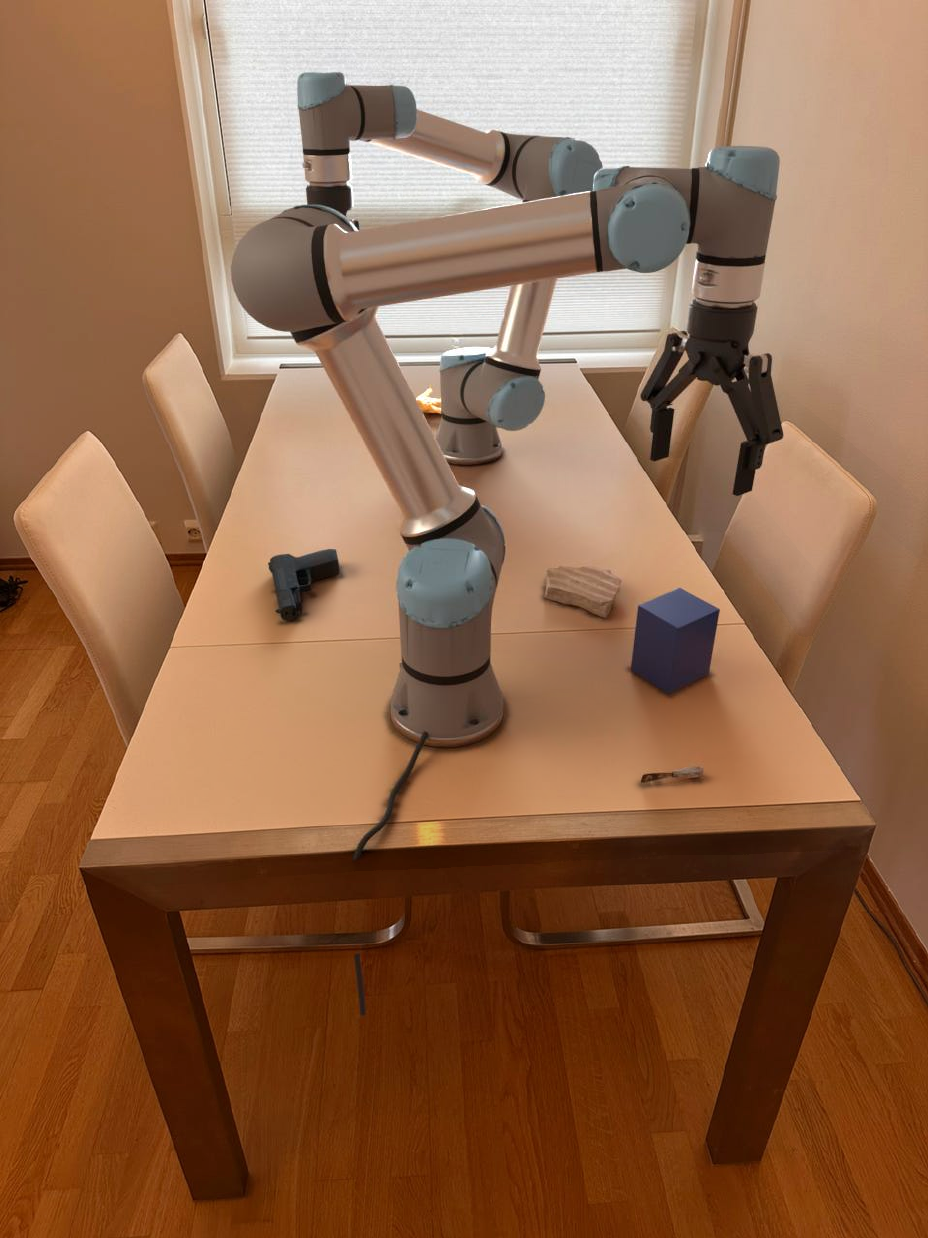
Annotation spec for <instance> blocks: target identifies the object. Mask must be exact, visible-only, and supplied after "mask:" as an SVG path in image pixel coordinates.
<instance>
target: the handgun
mask: <svg viewBox="0 0 928 1238" xmlns="http://www.w3.org/2000/svg"><path fill="white" fill-rule="evenodd" d="M338 558H339V557H338V552H337V549H336V548H327V549H322V550H318V551H313V552H310V553H307V554H304V555H301V556H294V555H292V554H290V553H284V554H281V553H280V554H277V555H273V556H272V557H271V558H270V559H269V561H268V562H267V565H268V570H269V572H270V573H271V575H272V581H273V585H274V590H275V597H276V601H277V605H278V608H276V609H275V610H274V612H275V613H276V614H279V615H280V618H281V619H282V620H283V621H293V620H294V621H295V620H297V617H298V612H299V614H300V615H302V614H303V605H302V599H301V595H302V594H305V593H309V592H311V591H312V590H313V587H312V582H314V581H317V580H318V581H319V580H321V579H324V578H328V577H332V576H336V575H340V572H341V571H340V563H339V562H340V561H339V559H338ZM302 584H304V585H302Z"/></svg>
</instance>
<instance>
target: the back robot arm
mask: <svg viewBox="0 0 928 1238" xmlns="http://www.w3.org/2000/svg"><path fill="white" fill-rule="evenodd" d="M296 84H297V85H296V86H297V87H296V92H297V96H296V97H297V110H298V116H299V125H300V135H301V145H302V158H303V162H302V164H301V165H302V168H303V169H304V180H305V181H306V182H307V183H309V184H308V185H306V187H305V194H306V196H305V197H306V205H323V206H326V207H330V208H332V209H334V210H336V211H338V212H340V213H342V214H343V215H344V216H346V217H347V218H348V214H347V213H348V212H349V211H351V210H352V209H353V208H354V192H353V186H352V185H351V184H350V183H349V182H351V181H352V180H353V175H352V174H353V173H352V159H351V142H350V141H352V142H353V141H359V142H360V141H361V142H364V143H368V144H371V145H375V146H378V147H380V148H381V147H382V148H385V149H388V150H391V151H394V152H398V153H401V154H404V155H408V156H411V157H414V158H417V159H420V160H424V161H426V162H430V163H434V164H437V165H440V166H443V167H446V168H448V169H452V170H455V171H459V172H462V173H465V174H469V175H473V176H474V178H475V180H476V182H478V183H479V184H481V185H485V186H488V187H490V188H493V189H496V190H498V191H500V192H503V193H504V194H507V195H510V196H512V197H514V198H516V199H519V200H522V202H521V203H524V202H530V201H535V200H541V199H547V198H553V197H559V196H565V195H571V194H576V193H582V192H588V191H590V192H591V191H593V180H594V176H595V174H596V172H597V171H598V170H600V169H602V168H604V166H603V162H602V160H601V158H600V154H599V153H598V151H597V150H596V148H595V147H594V146H593V145H592V144H590V143H589V142H587V141H585V140H582V139H578V138H574V137H569V136H565V137H563V136H549V135H539V134H516V133H508V132H504V131H500V130H498V129H489V130H487V131H486V132H484V131H481V130H478V129H475V128H473V127H470V126H467V125H464V124H462V123H458V122H456V121H453V120H450V119H446V118H444V117H440V116H438V115H435V114H433V113H430V112H426V111H423V110H420V109H418V104H417V100H416V97H415V95H414V93H413V91H412V90H411V89H410V88H409V87H407V86H405V85H394V84H388V85H364V84H363V85H360V84H359V85H358V84H348V83H347V81H346V76H345V74H344V73H343V72H340V71H327V72H326V71H325V72H324V71H322V72H321V71H320V72H319V71H318V72H316V71H315V72H314V71H313V72H312V71H311V72H310V71H309V72H308V71H307V72H302V73H300V74H299V75H298V77H297V83H296ZM349 220H350V221H351V222H352V223H353V224H354V226H355V227H356V228H357V230H358V231H359V230H360V222H359V220H358V219H349ZM557 281H558V278H557V279H551V280H545V281H538V282H532V283H526V284H519V285H513V286H509V289H508V293H507V298H506V301H505V306H504V310H503V314H502V319H501V322H500V326H499V331H498V335H497V338H496V343H495V346H494V347H493V348H490V347H487V346H486V347H485V346H469V347H460V348H454V349H450V350H447V351H445V352H444V353H442V355H441V356H440V360H439V375H440V378H439V379H440V382H439V383H440V399H441V414H440V416H441V417H440V422H439V426H438V429H437V431H436V436H435V438H436V440H437V442H438V444H439V446H440V448H441V450H442V452H443V454H444V456H445V458H446V460H447V462H448V464H453V465H459V466H461V465H462V466H473V465H481V464H487V463H490V462H493V461H495V460H497V459H498V458H499V457H500V456H501V455H502V441H501V438H500V435H499V432H498V429H502V430H505V431H508V432H517V431H521V430H524V429H526V428H527V427H528V426H529V425H530V424H531V425H532V424H533V423H534V422H535V421H537V419H538V417H539V416H540V414H541V412H542V411H543V408H544V406H545V401H546V391H545V390H544V386H543V384H542V383H541V381H540V375H541V371H542V365H541V364H540V362H539V360H538V353H539V349H540V345H541V343H542V338H543V335H544V330H545V327H546V323H547V319H548V315H549V311H550V307H551V305H552V301H553V296H554V292H555V289H556V285H557Z"/></svg>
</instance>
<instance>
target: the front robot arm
mask: <svg viewBox="0 0 928 1238" xmlns="http://www.w3.org/2000/svg"><path fill="white" fill-rule="evenodd" d="M780 162H781V159H780V155H779V154H778V152H777V151H776V150H775V149H773V148H771V147H767V146H757V145H756V146H755V145H731V146H728V145H722V146H716V147H713V148H712V149H710V151H709V153H708V155H707V161H706V162H705V164H704V166H698V167H691V168H677V167H675V168H674V167H673V168H672V167H639V166H637V167H635V166H634V167H633V166H630V165H623V166H619V167H603V168H602V169H600V170H598V171H597V172H596V174H595V176H594V180H593V191H591V192H590V191H588V192H582V193H576V194H571V195H565V196H559V197H553V198H547V199H541V200H535V201H530V202H524V203H522V202H518V203H513V204H506V205H500V206H495V207H489V208H483V209H477V210H470V211H465V212H460V213H454V214H448V215H443V216H436V217H430V218H424V219H418V220H412V221H407V222H403V223H401V222H400V223H396V224H389V225H383V226H377V227H372V228H366V229H359V231H358V230H357V228H356V227H355V226H354V224H353V223H352V222H351V221H350V220H351V219H349V218H348V216H347V217H346V216H344V215H343V214H342V213H340V212H338V211H336V210H334V209H332V208H330V207H326V206H323V205H307V204H300V205H299V204H298V205H295V206H293V207H290V208H288V209H284V210H283V211H282V212H281V213H279V214H277V215H275V216H273V217H271V218H269V219H267V220H264V221H262V222H260V223H258V224H256V225H255V226H253V227H251V228H250V229H249V230H247V232H245V233H244V235H242V237H241V238H240V240H239V241H238V242H237V244H236V246H235V249H234V252H233V255H232V257H231V264H230V277H231V278H230V280H231V285H232V289H233V292H234V294H235V296H236V298H237V301H238V303H239V304H240V305H241V307H242V308H243V310H244V311H245V312H246V313H247V314H248V315H249V316H250V317H251V318H252V319H253V320H255V321H256V322H257V323H258V324H260V325H262V326H264V327H266V328H268V329H270V330H274V331H277V332H282V333H283V332H284V333H285V332H287V333H290V335H291V336H292V338H293V341H294V342H295V344H296V346H299V347H302V348H305V349H308V350H311V351H313V352H314V353H315V355H316V356H317V358H318V360H319V362H320V364H321V366H322V368H323V370H324V371H325V374H326V376H328V377H327V378H328V379H329V381H330V383H331V384H332V385H333V388H334V390H335V392H336V394H337V395H338V397H339V399H340V401H341V403H342V405H343V407H344V409H345V410H346V412H347V414H348V416H349V418H350V420H351V421H352V424H353V425H354V427H355V429H356V431H357V433H358V434H359V436H360V438H361V440H362V442H363V444H364V446H365V447H366V449H367V451H368V453H369V455H370V457H371V459H372V461H373V462H374V464H375V466H376V468H377V470H378V472H379V474H380V475H381V477H382V479H383V481H384V483H385V485H386V487H387V489H388V490H389V492H390V494H391V496H392V498H393V499H394V501H395V503H396V505H397V507H398V509H399V511H400V512H401V519H400V522H399V524H398V533H399V534H400V537H401V538H402V540H403V542H404V544H405V546H406V548H407V549H408V552H407V553H406V554H405V555H404V556H403V557H402V559H401V561H400V563H399V566H398V570H397V579H396V583H395V584H396V585H395V587H396V588H395V589H396V597H397V600H398V602H397V603H398V616H399V617H398V618H399V633H400V634H399V637H400V639H399V640H400V655H401V662H399V672H398V675H397V678H396V681H395V684H394V687H393V690H392V693H391V696H390V703H389V706H390V718H391V721H392V724H393V725H394V727H395V728H396V729H397V731H398V732H399V733H400V734H402V735H403V736H404V737H406V738H407V739H409V740H411V741H413V742H415V743H417V744H416V747H415V749H414V751H413V753H412V755H411V757H410V760H409V762H408V765H407V766H406V768H405V770H404V772H403V773H402V775H401V777H400V778H399V779H398V781H397V782H396V783H395V785H394V787H393V788H392V789H391V792H390V794H389V797H388V801H387V806H386V810H385V812H384V815H383V817H382V818H381V819H380V821H379V822H378V823H377V824H376V825H375V826H373V827H372V828H371V829H370V830H369V831H367V832H366V833H365V834H364V836H362V838H361V839H360V841H359V843H357V846H356V849H355V851H354V854H353V860H355V861H357V860H359V859H360V858H361V857H362V856H361V855H362V853H363V851H364V848H365V846H366V845H367V843H368V842H369V841H370V839H371V838H372V837H374V836H375V835H376V834H377V833H378V832H379V831H381V830H382V829H383V828H384V827H385V826H386V825H387V823H388V822H389V820H390V818H391V816H392V813H393V809H394V804H395V800H396V797H397V795H398V793H399V791H400V789H401V788H402V787H403V785H404V784H405V783H406V781H407V780H408V778H409V776H410V774H411V773H412V771H413V770H414V769H413V768H414V767H415V765H416V762H417V760H418V758H419V755H420V753H421V751H422V749H423V746H424V745H425V746H430V747H437V748H454V747H455V748H457V747H463V746H467V745H471V744H473V743H476V742H480V741H481V740H483V739H485V738H486V737H488V736H489V735H491V734H492V733H493V732H494V731H495V730H496V729H498V727H499V726H500V724H501V722H502V720H503V717H504V697H503V693H502V690H501V687H500V685H499V682H498V679H497V677H496V674H495V672H494V668H493V666H492V664H491V654H492V653H491V651H492V649H491V648H492V647H491V645H492V614H493V607H494V602H495V597H496V594H497V593H496V592H497V588H498V583H499V582H500V581H499V580H500V577H501V572H502V568H503V565H504V563H505V562H504V561H505V558H506V540H505V532H504V529H503V526H502V524H501V522H500V520H499V519H498V517H497V516H496V515H495V513H494V512H493V511H492V510H491V509H489V508H488V507H487V506H485V505H482V504H481V502H480V500H479V498H478V496H477V494H476V492H475V491H474V489H472V488H469V487H465V486H462V485H460V484H459V483H458V480H457V479H456V477H455V474H454V472H453V471H452V468H451V466H450V463H448V462H447V460H446V458H445V456H444V454H443V452H442V450H441V448H440V446H439V444H438V442H437V440H436V436H435V434H434V432H433V430H432V428H431V425H430V424H429V422H428V420H427V419H426V416H425V414H424V411H423V410H421V408H420V406H419V404H418V402H417V400H416V398H417V397H416V396H415V394H414V392H413V390H412V388H411V386H410V384H409V382H408V380H407V378H406V376H405V374H404V371H403V370H402V368H401V366H400V364H399V362H398V360H397V358H396V356H395V353H394V352H393V350H392V348H391V346H390V344H389V342H388V339H387V338H386V336H385V334H384V332H383V330H382V328H381V326H380V324H379V321H378V318H377V317H378V313H379V309H380V307H385V306H391V305H398V304H404V303H410V302H411V303H412V302H415V301H416V302H417V301H423V300H429V299H436V298H441V297H448V296H455V295H462V294H467V293H475V292H480V291H486V290H487V291H488V290H493V289H499V288H506V287H510V286H513V285H519V284H526V283H532V282H538V281H545V280H551V279H557V280H558V279H562V278H570V277H576V276H582V275H583V276H584V275H588V274H589V275H590V274H595V273H604V272H605V273H606V272H612V271H618V270H626V269H627V270H629V271H631V272H636V273H640V274H649V273H650V274H652V273H656V272H659V271H662V270H664V269H666V268H668V267H669V266H670V265H671V264H673V263H674V262H675V261H676V260H677V259H678V258H679V256H680V255H681V254H682V252H683V251H684V249H685V247H686V245H691V244H696V252H695V262H694V269H693V270H694V271H693V279H692V286H691V295H692V296H693V297H694V299H692V301H690V303H689V307H688V314H687V315H688V316H687V324H686V330H680V331H676V332H671V333H668V334H667V335H666V339H665V343H664V347H663V351H662V353H661V355H660V357H659V359H658V361H657V363H656V365H654V368H653V370H652V372H651V374H650V375H649V378H648V380H647V381H646V383H645V385H644V387H643V389H642V390H641V392H640V396H639V397H640V400H641V401H642V402H647V403H648V404H649V407H650V409H651V416H650V426H649V431H650V433H652V436H651V437H652V439H651V448H650V456H649V461H651V462H657V461H661V460H664V459H667V458H669V457H670V448H671V443H672V442H671V441H672V434H673V424H674V417H675V408H673V407H670V406H673V405H674V403H673V402H674V401H675V400H676V399H677V398H678V397H679V396H680V395H681V394H682V393H683V392H684V391H685V390H686V389H687V388H688V387H689V386H690V385H691V384H692V383H693V382H694V381H695V380H698V381H701V382H708V383H709V384H711V385H712V386H716V387H718V386H720V388H721V390H722V392H723V393H724V394H726V395H727V397H728V400H729V402H730V404H731V406H732V408H733V411H734V413H735V415H736V418H737V420H738V422H739V424H740V426H741V429H742V432H743V434H744V436H745V439H746V441H742V442H740V446H739V453H738V458H737V464H736V469H735V470H736V471H735V476H734V483H733V488H732V495H733V496H736V497H739V496H742V495H745V494H747V493H750V492H752V491H753V486H754V482H755V475H756V471H757V470H760V469H761V468H762V465H763V461H764V457H765V456H764V455H765V450H766V446H767V445H769V444H772V443H776V442H778V441H781V440H783V439H784V431H783V425H782V421H781V416H780V412H779V411H780V410H779V406H778V402H777V397H776V396H777V395H776V392H775V388H774V387H775V386H774V383H773V378H772V365H773V356H772V354H771V353H769V352H766V353H762V354H753V353H751V352H750V349H749V344H750V341H751V339H752V337H753V335H754V332H755V326H756V320H757V314H758V309H759V308H758V305H757V303H756V302H755V301H757V300H758V299H759V298H760V297H761V293H762V285H763V278H764V271H765V264H766V257H767V251H768V245H769V239H770V234H771V228H772V222H773V216H774V212H775V211H774V210H775V205H776V201H777V198H778V195H777V191H778V182H779V181H778V180H779V172H780V164H781V163H780ZM685 352H686V353H685ZM684 354H686V355H687V356H686V357H687V358H688V360H687V361H686V362H685V363H684V364H683V365H682V366H681V367H680V368H679V369H678V372H677V374H676V375H675V376H674V377H673V378H672V379H671V377H672V376H673V374H674V371H675V370H676V369H677V366H678V365H679V362H680V361H681V359H682V357H683V356H684ZM747 374H748V375H747ZM670 379H671V380H670ZM734 380H736V381H734ZM353 957H354V959H353V960H354V965H355V966H354V967H355V975H356V984H357V993H358V1003H359V1015H360V1016H362V1017H364V1016H366V1013H367V1012H366V999H365V990H364V980H363V969H362V962H361V953H356V954H354V955H353Z"/></svg>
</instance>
